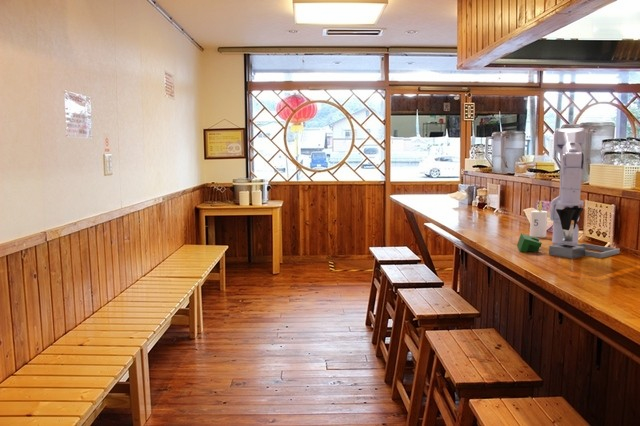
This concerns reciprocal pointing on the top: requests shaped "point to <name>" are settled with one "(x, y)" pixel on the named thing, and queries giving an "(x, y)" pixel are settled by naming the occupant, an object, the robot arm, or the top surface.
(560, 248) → the block
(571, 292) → the top surface
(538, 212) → the candle
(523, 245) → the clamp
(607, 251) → the tray
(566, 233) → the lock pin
